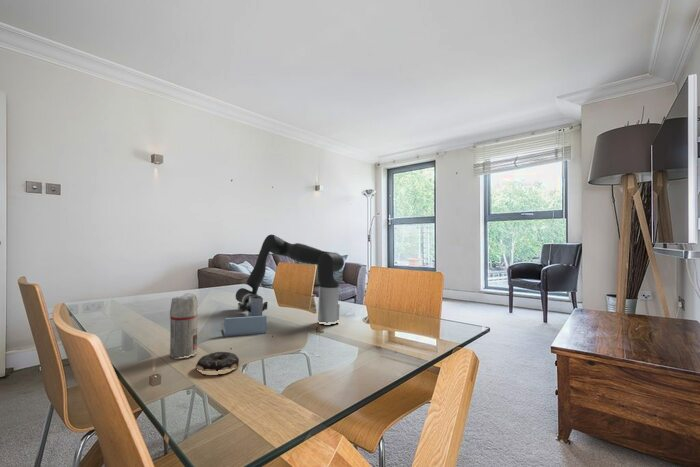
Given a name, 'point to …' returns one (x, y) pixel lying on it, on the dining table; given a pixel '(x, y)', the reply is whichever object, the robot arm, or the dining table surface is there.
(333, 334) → the dining table surface
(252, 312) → the block
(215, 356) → the donut
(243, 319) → the bracket
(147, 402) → the dining table surface
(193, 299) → the spray can
